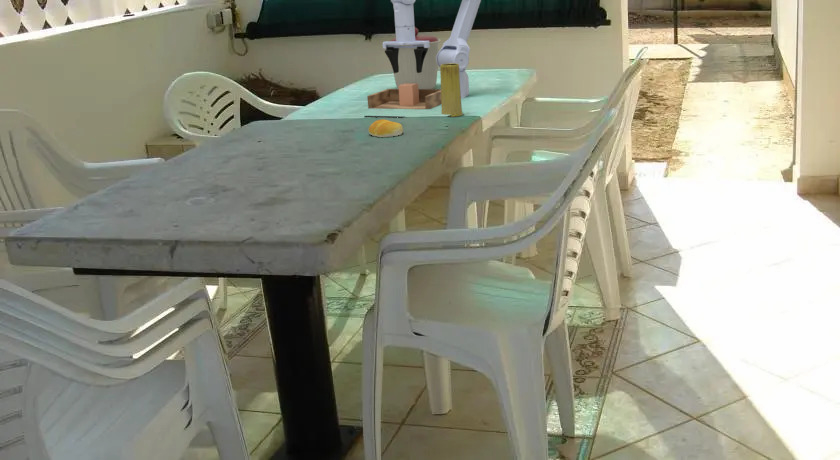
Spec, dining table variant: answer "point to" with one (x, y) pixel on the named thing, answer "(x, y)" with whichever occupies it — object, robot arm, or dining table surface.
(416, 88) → the block
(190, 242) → the dining table surface
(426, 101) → the crate
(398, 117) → the mat
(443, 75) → the vase
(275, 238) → the dining table surface
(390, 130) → the bread roll
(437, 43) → the canister
